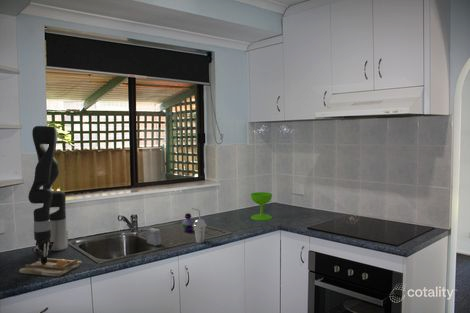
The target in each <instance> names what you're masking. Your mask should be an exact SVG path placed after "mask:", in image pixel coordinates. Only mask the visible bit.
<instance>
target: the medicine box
mask: <svg viewBox="0 0 470 313" xmlns="http://www.w3.org/2000/svg"><path fill="white" fill-rule="evenodd" d="M161 236H162V235H161V229H159V228H153V227H151V228H147V229H146V243H147V244H148V245H151V246H159V245H161V244H162V238H161Z"/></svg>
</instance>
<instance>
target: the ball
mask: <svg viewBox="0 0 470 313" xmlns="http://www.w3.org/2000/svg"><path fill="white" fill-rule="evenodd" d="M59 259H60V260H58V261H57V263H56V266H57V267H61V268H62V266H63V265H65V264H67V261H66V260H67V259H65V258H59Z"/></svg>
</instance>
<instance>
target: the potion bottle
mask: <svg viewBox="0 0 470 313" xmlns="http://www.w3.org/2000/svg"><path fill="white" fill-rule="evenodd" d="M184 218H185V219H184V220H182V221H181V223H182V227H183V231H184V233H193V230H194V227H193V224H194V222H195V220H193V219H191V218H192V215H191V213H187V212H186V213H185V215H184Z"/></svg>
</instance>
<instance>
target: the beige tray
mask: <svg viewBox="0 0 470 313" xmlns="http://www.w3.org/2000/svg"><path fill="white" fill-rule="evenodd" d="M60 259H61V258H49V257H47V263H46V264H42V263H41V257H40V258H38V260H37V261H35V262H33V263H31V264H27V263H26V264H24V267H21V268H20V269H19V273H20V274H29V275H41V276H48V277H49V276H50V277H60V276H62V275H64V274H66V273H68V272H71V271H72V270H74V269H76V268H77V267H79V266H81V265H82V264H83V261H81V260H78V259H76V258H75V259H73V260H71V259H65V260H66V261H67V264H65V265H63V266H62V268H61V267H57V266H56V263H57V261H58V260H60Z"/></svg>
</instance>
